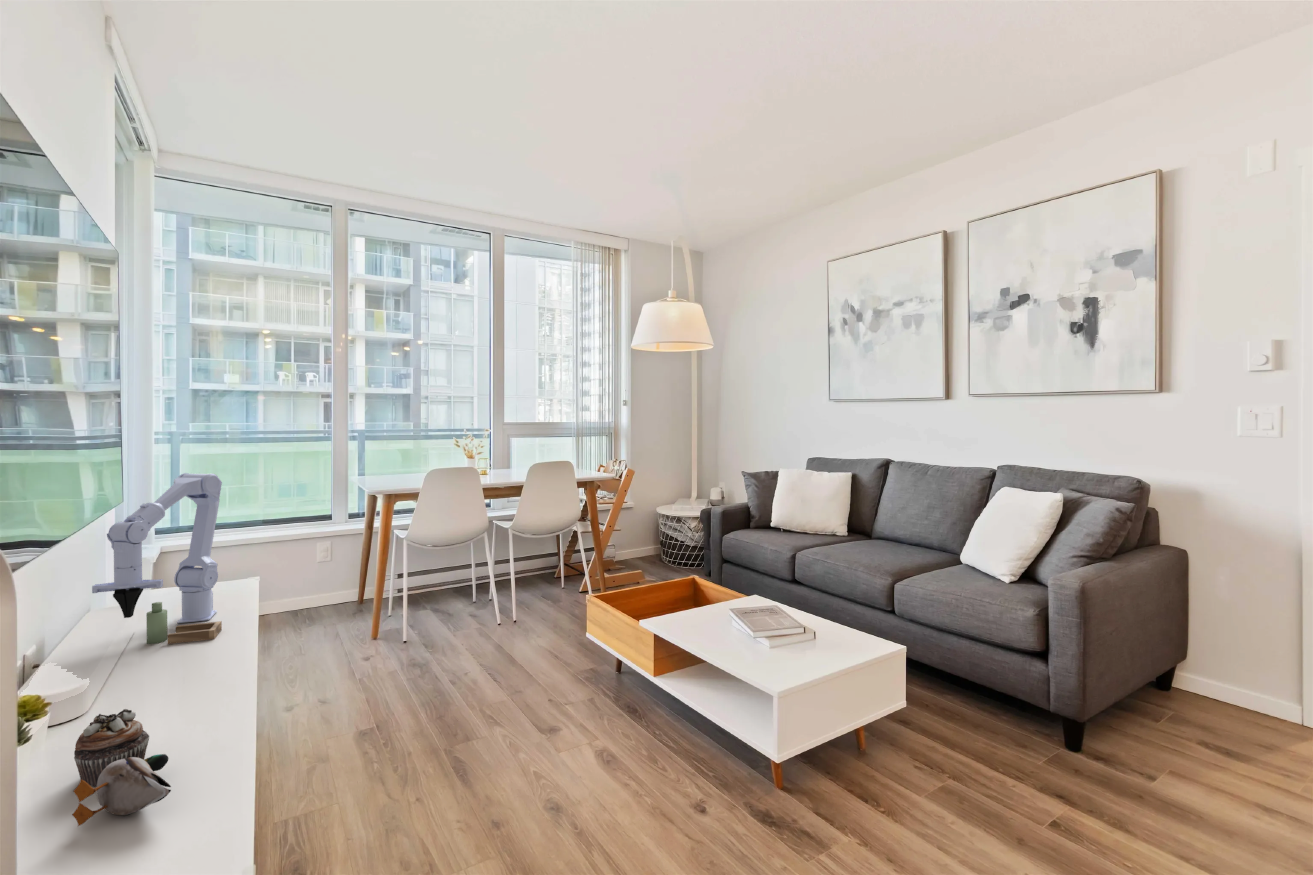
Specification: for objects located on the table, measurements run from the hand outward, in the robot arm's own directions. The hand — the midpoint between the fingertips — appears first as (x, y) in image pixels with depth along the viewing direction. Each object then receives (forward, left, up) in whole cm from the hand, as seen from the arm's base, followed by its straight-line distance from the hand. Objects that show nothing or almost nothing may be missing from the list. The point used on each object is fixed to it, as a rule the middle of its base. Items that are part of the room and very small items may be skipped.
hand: (128, 616), depth 165 cm
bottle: (0, +6, -7) cm, 10 cm away
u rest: (0, +14, -7) cm, 16 cm away
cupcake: (+75, +21, -8) cm, 78 cm away
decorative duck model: (+87, +28, -8) cm, 92 cm away
